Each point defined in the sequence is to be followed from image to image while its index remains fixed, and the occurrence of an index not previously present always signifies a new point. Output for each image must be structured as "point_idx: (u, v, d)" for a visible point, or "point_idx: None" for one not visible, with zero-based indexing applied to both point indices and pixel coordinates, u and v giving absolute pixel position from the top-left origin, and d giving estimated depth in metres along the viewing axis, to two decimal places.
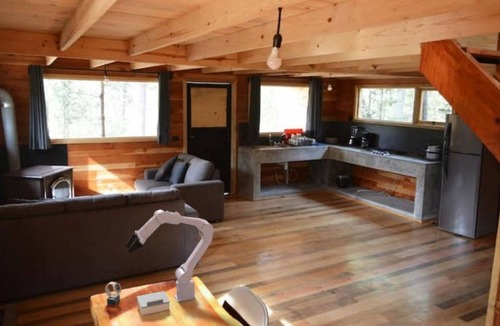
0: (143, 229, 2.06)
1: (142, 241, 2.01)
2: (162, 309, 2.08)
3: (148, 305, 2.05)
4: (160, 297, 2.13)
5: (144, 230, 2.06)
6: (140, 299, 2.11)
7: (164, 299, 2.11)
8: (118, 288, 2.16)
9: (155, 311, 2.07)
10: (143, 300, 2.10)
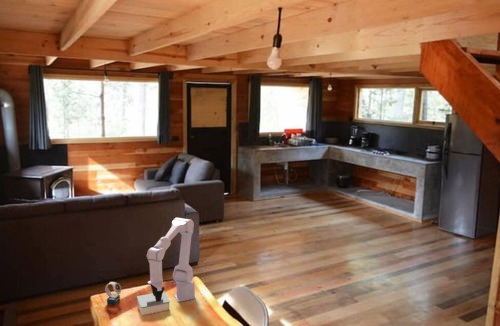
0: (152, 276, 1.96)
1: (159, 288, 1.93)
2: (162, 309, 2.08)
3: (148, 305, 2.05)
4: None
5: (153, 277, 1.96)
6: (140, 299, 2.11)
7: (164, 299, 2.11)
8: (118, 288, 2.16)
9: (155, 311, 2.07)
10: (143, 300, 2.10)
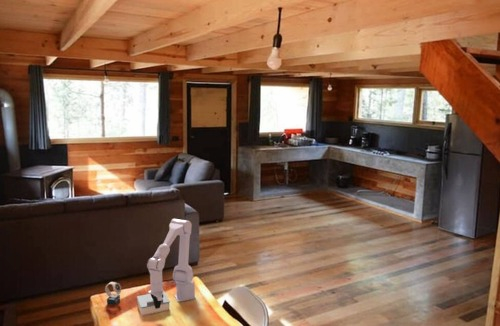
0: (152, 286, 1.97)
1: (159, 298, 1.94)
2: (162, 309, 2.08)
3: (148, 305, 2.05)
4: None
5: (154, 286, 1.97)
6: (140, 299, 2.11)
7: (164, 299, 2.11)
8: (118, 288, 2.16)
9: (155, 311, 2.07)
10: (143, 300, 2.10)
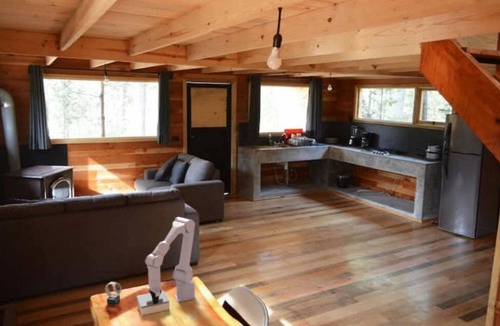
0: (150, 282, 2.02)
1: (157, 294, 1.98)
2: (162, 309, 2.08)
3: (148, 304, 2.06)
4: (160, 296, 2.14)
5: (152, 282, 2.01)
6: (140, 298, 2.12)
7: (164, 298, 2.12)
8: (118, 288, 2.16)
9: (155, 311, 2.07)
10: (143, 299, 2.11)
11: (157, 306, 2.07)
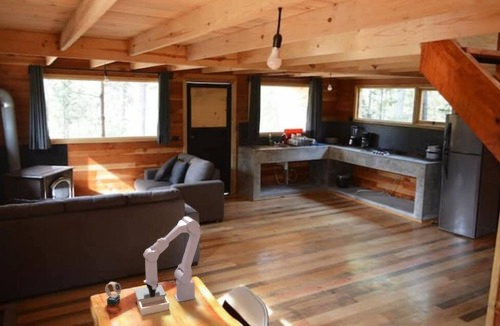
0: (147, 276, 2.09)
1: (154, 287, 2.05)
2: (162, 309, 2.08)
3: (145, 297, 2.13)
4: (157, 290, 2.21)
5: (149, 276, 2.08)
6: (137, 292, 2.19)
7: (160, 292, 2.19)
8: (118, 288, 2.16)
9: (155, 311, 2.07)
10: (140, 293, 2.18)
11: (157, 306, 2.07)
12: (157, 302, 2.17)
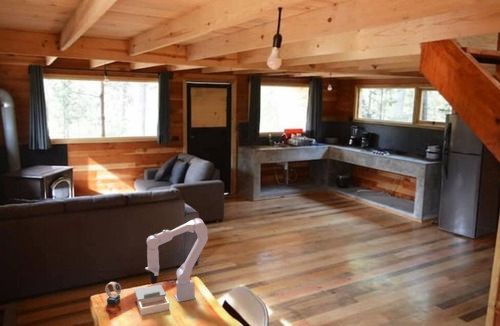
0: (149, 263, 2.12)
1: (156, 273, 2.09)
2: (162, 309, 2.08)
3: (145, 297, 2.13)
4: (157, 290, 2.21)
5: (150, 263, 2.12)
6: (137, 292, 2.19)
7: (160, 292, 2.19)
8: (118, 288, 2.16)
9: (155, 311, 2.07)
10: (140, 293, 2.18)
11: (157, 306, 2.07)
12: (157, 302, 2.17)
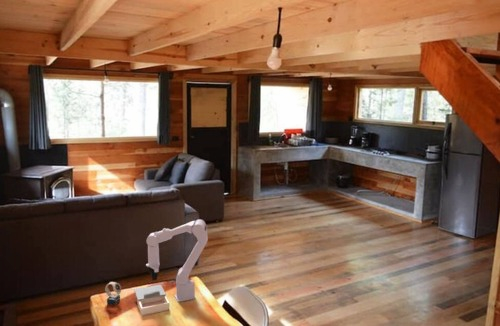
0: (150, 259, 2.17)
1: (156, 270, 2.13)
2: (162, 309, 2.08)
3: (145, 297, 2.13)
4: (157, 290, 2.21)
5: (151, 260, 2.16)
6: (137, 292, 2.19)
7: (160, 292, 2.19)
8: (118, 288, 2.16)
9: (155, 311, 2.07)
10: (140, 293, 2.18)
11: (157, 306, 2.07)
12: (157, 302, 2.17)
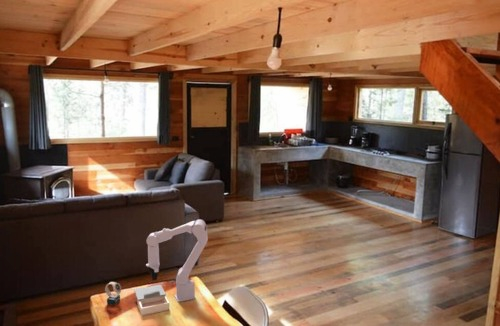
0: (150, 259, 2.17)
1: (156, 270, 2.13)
2: (162, 309, 2.08)
3: (145, 297, 2.13)
4: (157, 290, 2.21)
5: (151, 260, 2.16)
6: (137, 292, 2.19)
7: (160, 292, 2.19)
8: (118, 288, 2.16)
9: (155, 311, 2.07)
10: (140, 293, 2.18)
11: (157, 306, 2.07)
12: (157, 302, 2.17)
